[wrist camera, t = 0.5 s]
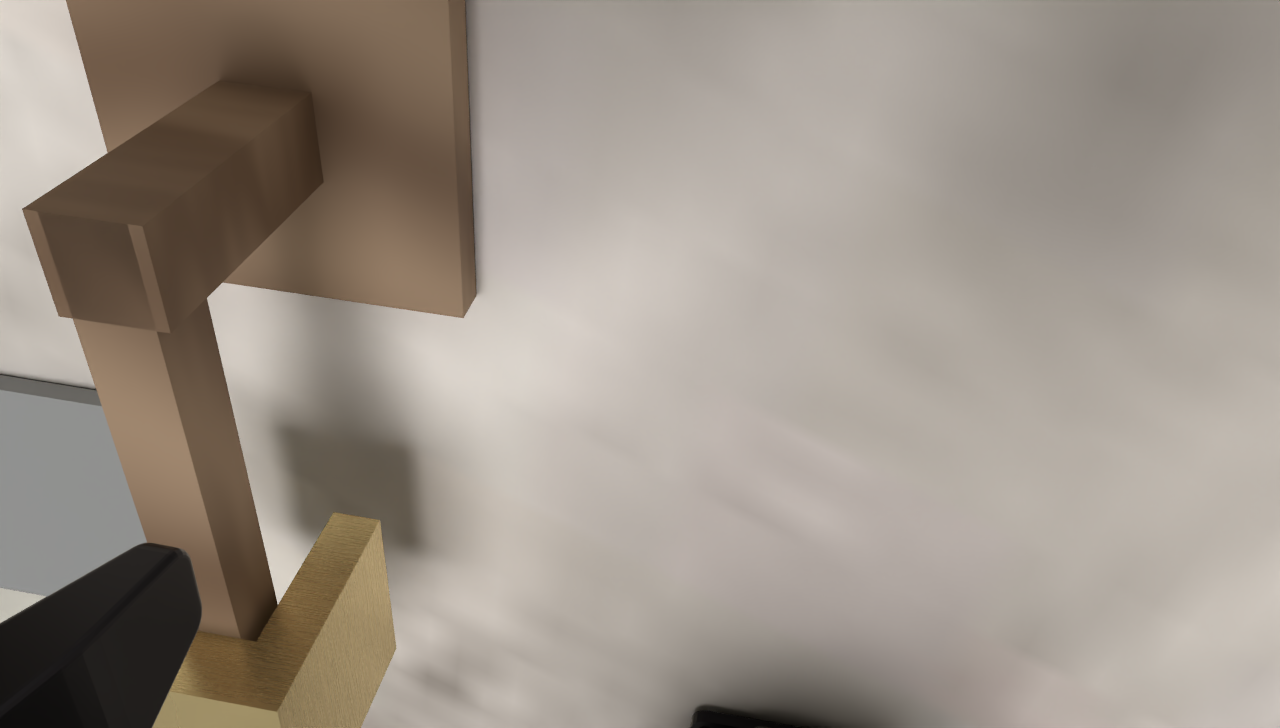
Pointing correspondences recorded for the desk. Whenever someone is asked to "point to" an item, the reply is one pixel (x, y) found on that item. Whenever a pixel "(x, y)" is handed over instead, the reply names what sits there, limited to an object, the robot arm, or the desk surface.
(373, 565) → the slotted brass block
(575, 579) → the desk surface
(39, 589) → the slate mat
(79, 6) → the walnut stand
